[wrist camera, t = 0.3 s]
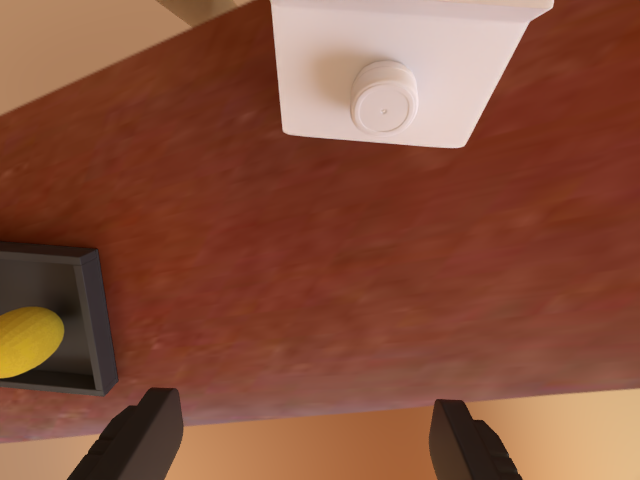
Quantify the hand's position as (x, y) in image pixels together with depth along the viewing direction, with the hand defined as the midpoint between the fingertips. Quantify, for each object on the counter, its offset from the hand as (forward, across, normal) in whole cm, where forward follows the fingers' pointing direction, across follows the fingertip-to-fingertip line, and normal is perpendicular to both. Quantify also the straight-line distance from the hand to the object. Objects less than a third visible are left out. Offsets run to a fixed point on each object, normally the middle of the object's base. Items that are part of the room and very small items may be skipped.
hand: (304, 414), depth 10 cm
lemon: (+21, +27, +10) cm, 36 cm away
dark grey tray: (+21, +29, +10) cm, 37 cm away
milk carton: (+21, -3, -11) cm, 24 cm away
